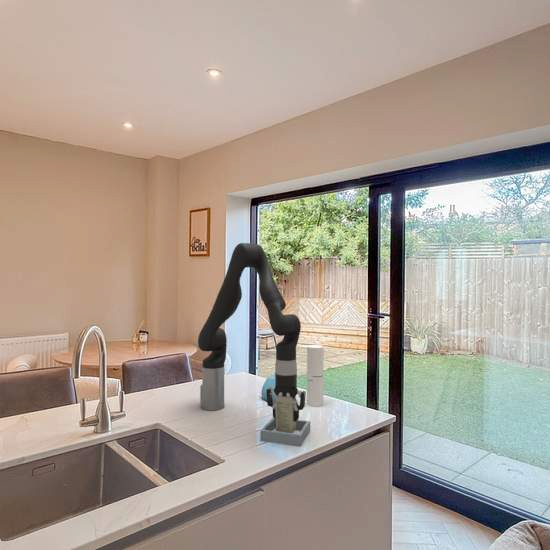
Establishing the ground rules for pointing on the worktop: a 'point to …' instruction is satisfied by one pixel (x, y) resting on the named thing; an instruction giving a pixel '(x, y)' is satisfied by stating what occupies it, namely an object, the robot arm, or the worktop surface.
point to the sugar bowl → (268, 384)
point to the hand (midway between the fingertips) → (285, 419)
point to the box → (283, 437)
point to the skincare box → (284, 414)
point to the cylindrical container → (315, 375)
